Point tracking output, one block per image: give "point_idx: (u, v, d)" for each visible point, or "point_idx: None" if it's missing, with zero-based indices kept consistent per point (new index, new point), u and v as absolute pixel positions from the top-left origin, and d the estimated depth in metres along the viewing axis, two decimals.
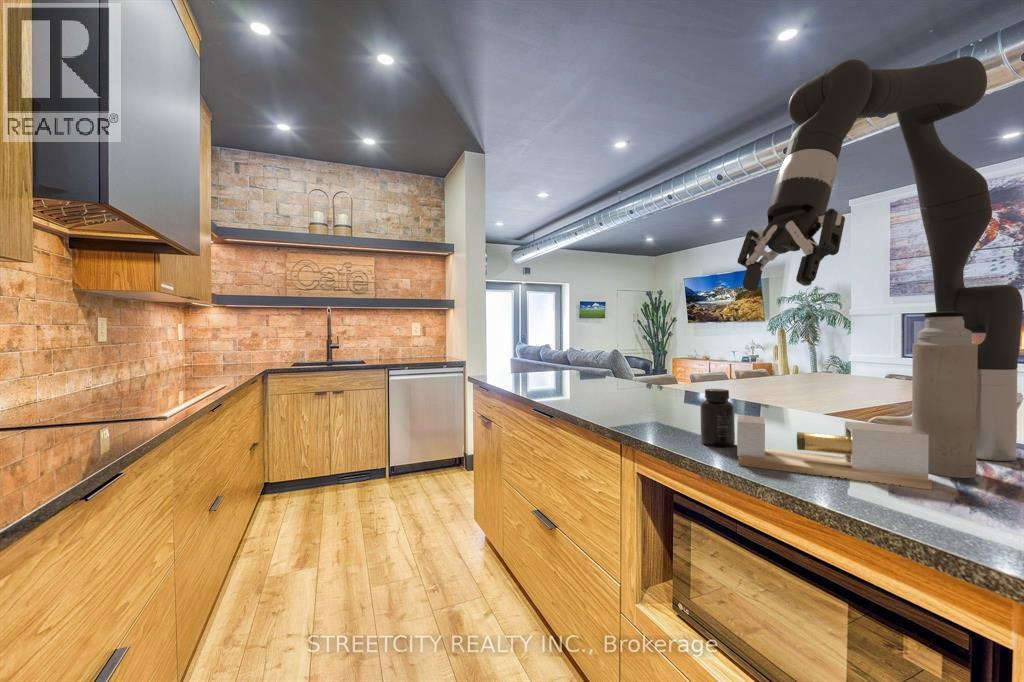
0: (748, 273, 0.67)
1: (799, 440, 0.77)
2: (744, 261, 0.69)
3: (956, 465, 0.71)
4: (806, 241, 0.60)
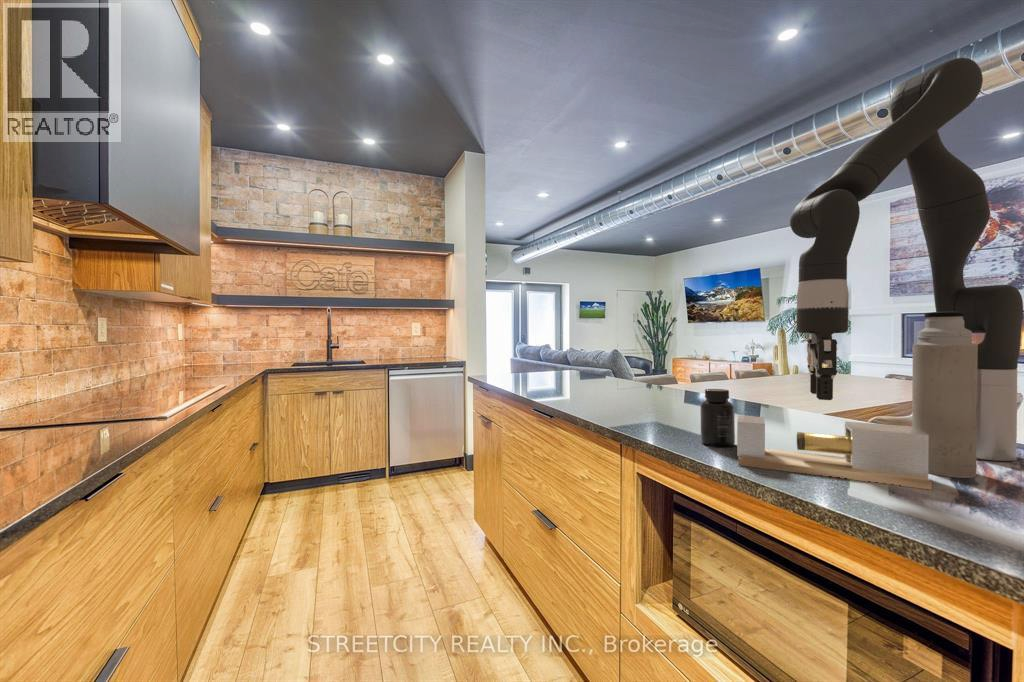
0: (810, 381, 0.81)
1: (799, 440, 0.77)
2: None
3: (956, 465, 0.71)
4: (815, 364, 0.74)
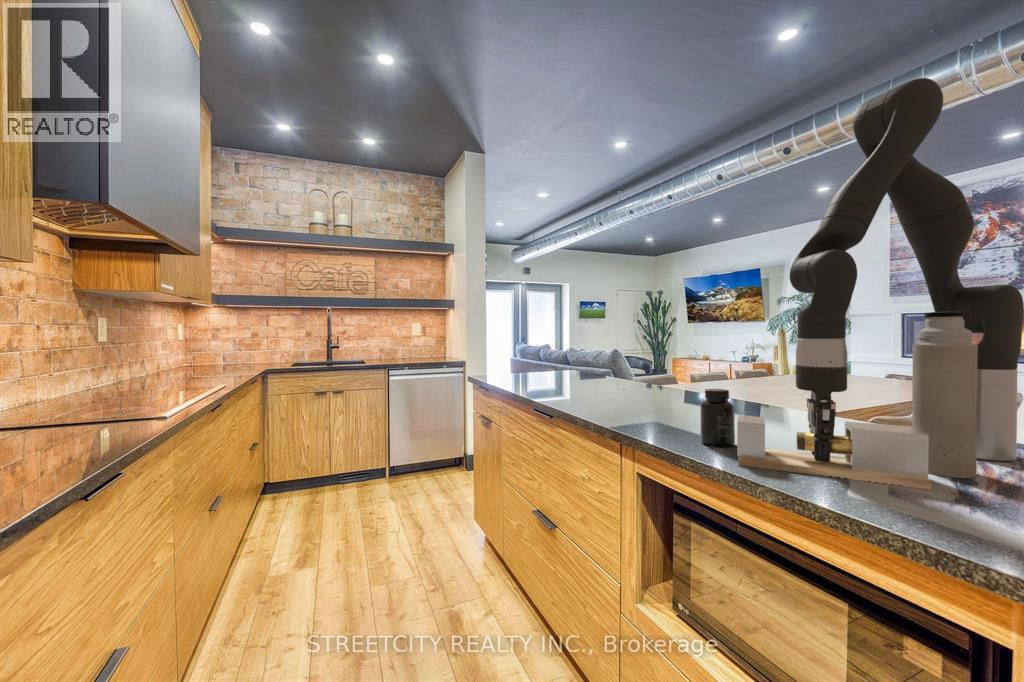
0: None
1: (799, 440, 0.77)
2: None
3: (956, 465, 0.71)
4: (813, 427, 0.75)
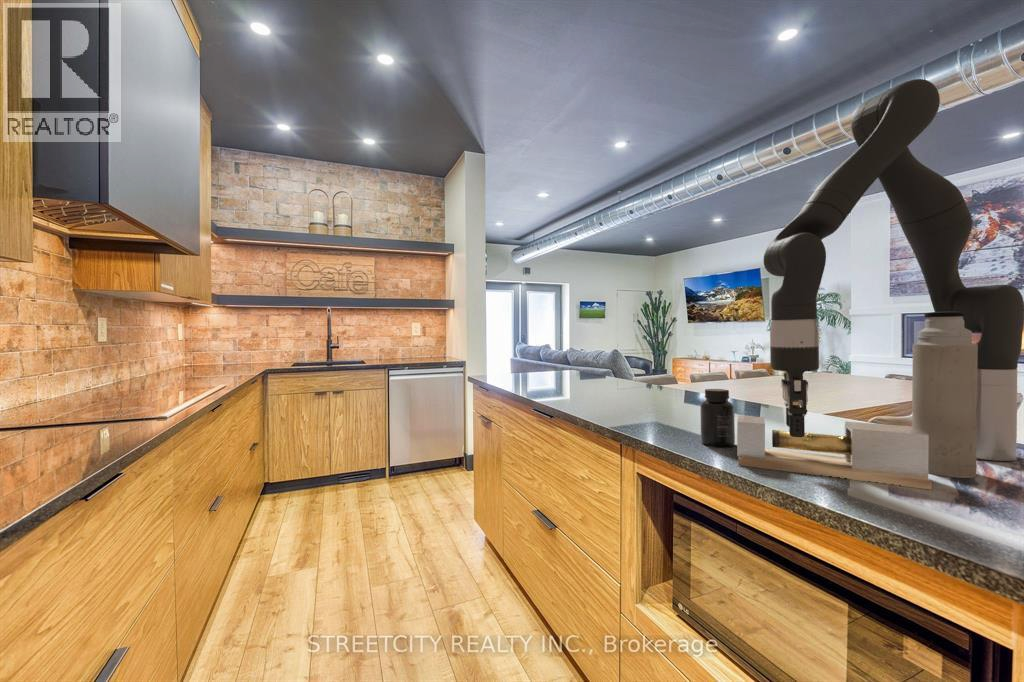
0: (786, 414, 0.83)
1: (774, 438, 0.79)
2: None
3: (956, 465, 0.71)
4: (788, 402, 0.76)
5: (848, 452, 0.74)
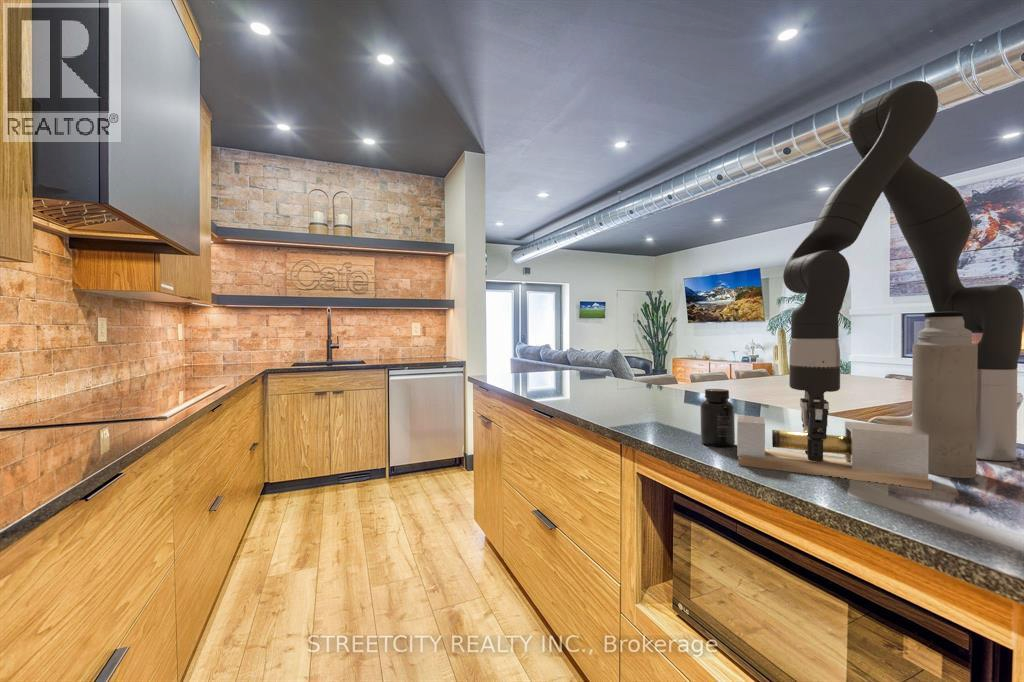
0: None
1: (774, 438, 0.79)
2: None
3: (956, 465, 0.71)
4: (807, 426, 0.76)
5: (848, 452, 0.74)
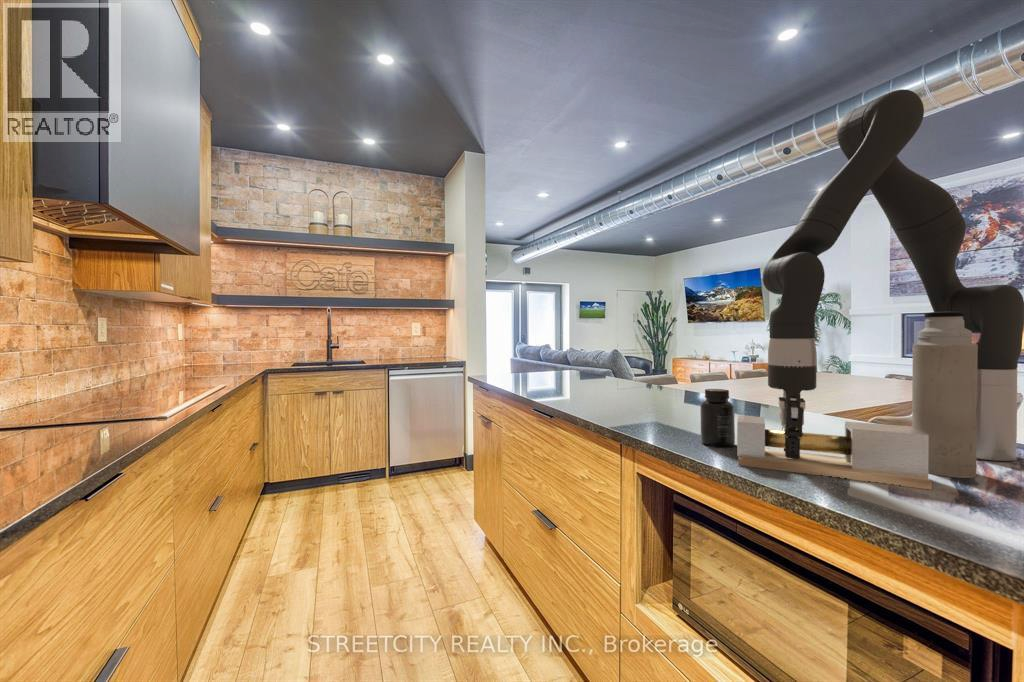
0: None
1: None
2: None
3: (956, 465, 0.71)
4: (784, 424, 0.78)
5: (824, 450, 0.76)
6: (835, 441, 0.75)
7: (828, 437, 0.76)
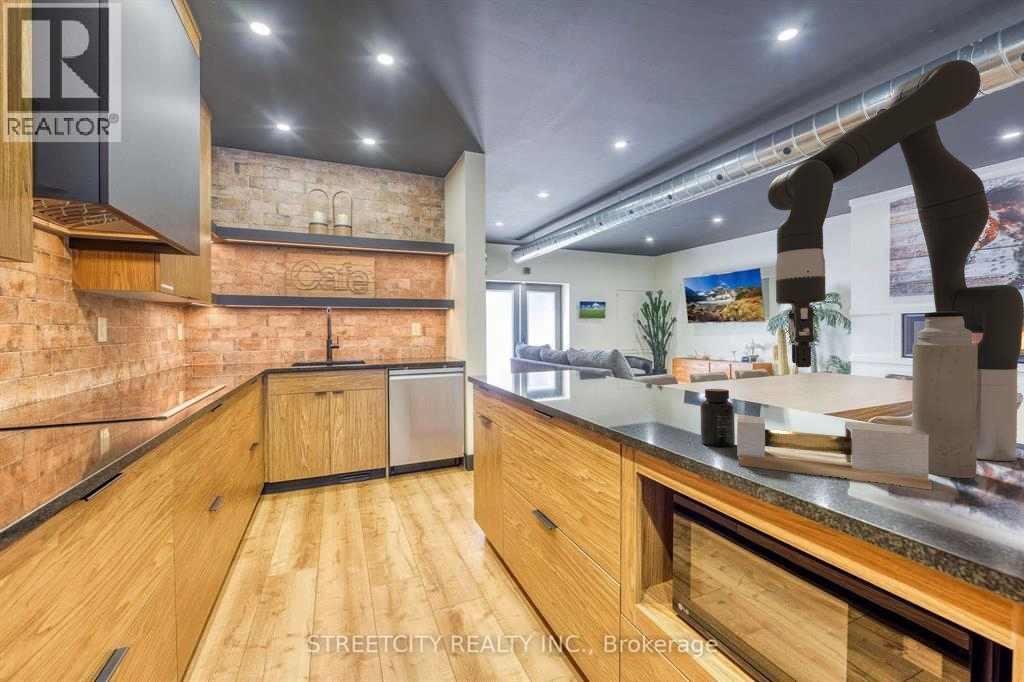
0: None
1: None
2: None
3: (956, 465, 0.71)
4: (794, 333, 0.75)
5: (824, 450, 0.76)
6: (834, 441, 0.75)
7: (828, 437, 0.76)
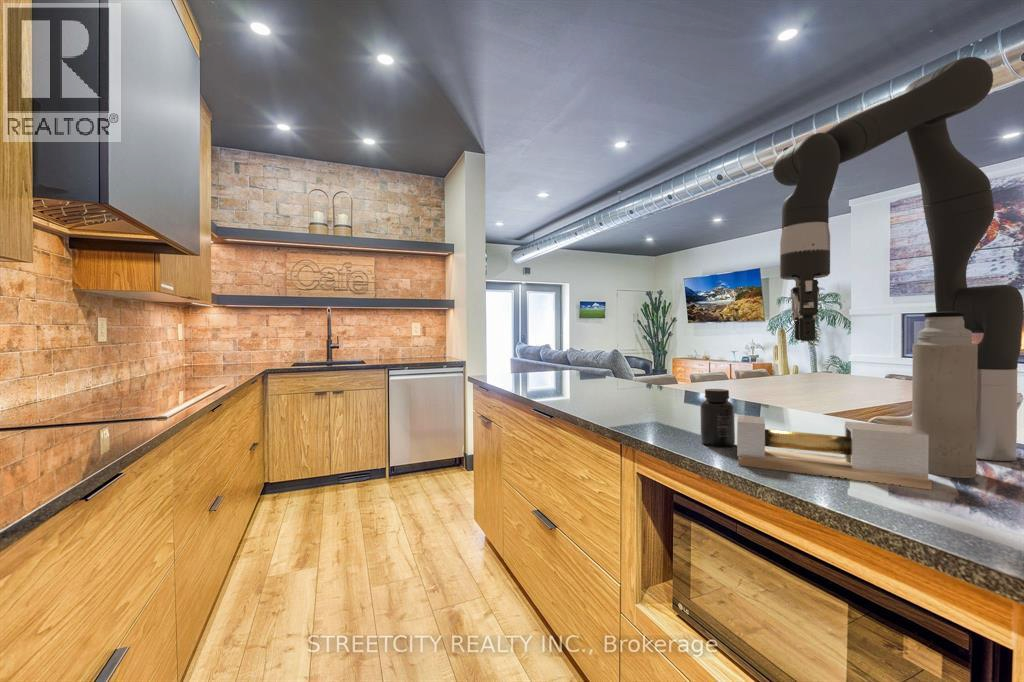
0: None
1: None
2: None
3: (956, 465, 0.71)
4: (798, 307, 0.75)
5: (824, 450, 0.76)
6: (834, 441, 0.75)
7: (828, 437, 0.76)
